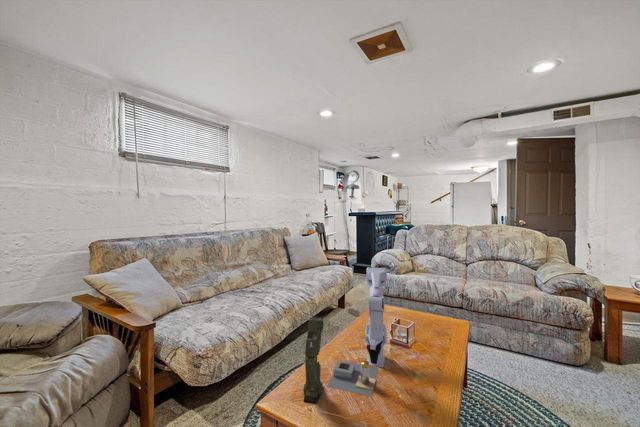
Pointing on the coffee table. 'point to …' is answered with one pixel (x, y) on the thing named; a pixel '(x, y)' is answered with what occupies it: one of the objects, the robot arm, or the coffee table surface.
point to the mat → (353, 381)
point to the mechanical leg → (313, 361)
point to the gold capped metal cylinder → (365, 372)
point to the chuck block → (344, 370)
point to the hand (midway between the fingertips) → (375, 358)
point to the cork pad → (368, 386)
